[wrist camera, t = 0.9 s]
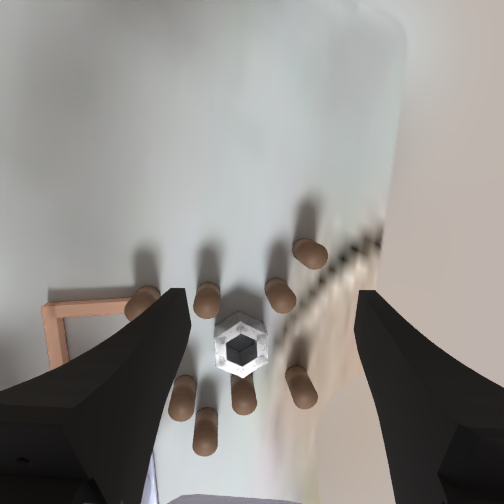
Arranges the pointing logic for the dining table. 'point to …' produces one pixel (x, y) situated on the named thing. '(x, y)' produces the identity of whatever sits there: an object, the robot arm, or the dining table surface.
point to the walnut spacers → (240, 387)
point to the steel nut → (249, 357)
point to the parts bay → (58, 310)
